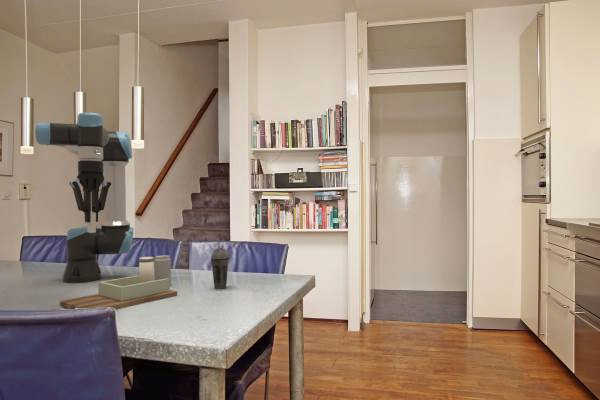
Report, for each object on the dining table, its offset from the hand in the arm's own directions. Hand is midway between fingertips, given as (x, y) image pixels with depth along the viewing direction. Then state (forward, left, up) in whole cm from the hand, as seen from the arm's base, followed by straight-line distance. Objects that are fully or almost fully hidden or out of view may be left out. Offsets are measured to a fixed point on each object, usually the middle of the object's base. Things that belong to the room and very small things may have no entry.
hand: (91, 232), depth 141 cm
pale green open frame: (0, +15, -23) cm, 27 cm away
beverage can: (-9, +33, -25) cm, 42 cm away
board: (0, +10, -24) cm, 26 cm away
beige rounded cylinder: (0, +20, -23) cm, 30 cm away
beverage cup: (+13, +44, -25) cm, 52 cm away
